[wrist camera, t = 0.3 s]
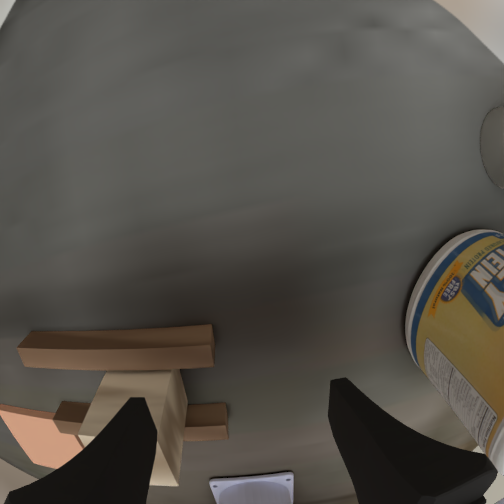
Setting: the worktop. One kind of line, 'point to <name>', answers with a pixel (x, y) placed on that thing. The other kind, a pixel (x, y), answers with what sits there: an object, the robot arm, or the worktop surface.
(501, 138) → the air filter
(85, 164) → the worktop surface
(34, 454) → the terracotta tile
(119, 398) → the birch block
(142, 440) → the robot arm
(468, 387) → the supplement tub
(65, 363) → the slot rack
